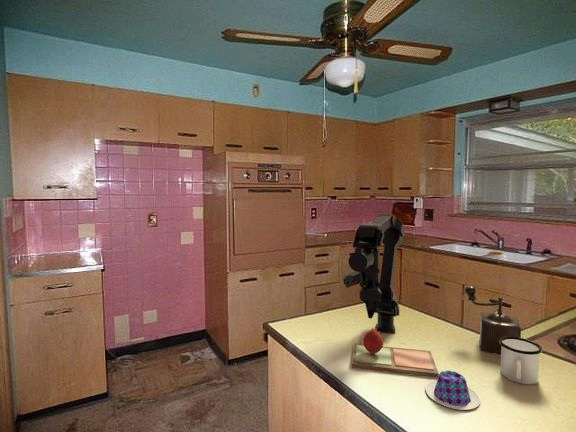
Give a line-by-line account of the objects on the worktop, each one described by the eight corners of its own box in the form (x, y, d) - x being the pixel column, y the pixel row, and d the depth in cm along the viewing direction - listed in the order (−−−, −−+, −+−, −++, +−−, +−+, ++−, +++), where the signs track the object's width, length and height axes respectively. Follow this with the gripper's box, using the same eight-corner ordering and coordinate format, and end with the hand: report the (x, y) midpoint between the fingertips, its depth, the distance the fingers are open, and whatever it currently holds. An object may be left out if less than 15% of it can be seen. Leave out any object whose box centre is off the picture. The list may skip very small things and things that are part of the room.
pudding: (465, 382, 86) (465, 363, 86) (490, 413, 74) (491, 391, 74) (418, 382, 87) (418, 363, 87) (436, 412, 75) (436, 390, 75)
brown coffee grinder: (516, 343, 107) (518, 289, 106) (521, 359, 98) (523, 299, 96) (462, 334, 115) (463, 283, 114) (462, 347, 105) (463, 292, 104)
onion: (383, 359, 95) (383, 332, 95) (363, 357, 96) (363, 331, 96) (382, 350, 101) (382, 324, 100) (363, 348, 102) (363, 323, 102)
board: (353, 347, 106) (353, 342, 106) (430, 354, 101) (430, 350, 101) (351, 367, 94) (351, 362, 94) (438, 377, 88) (438, 372, 88)
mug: (499, 363, 95) (500, 333, 95) (540, 373, 90) (541, 341, 89) (495, 383, 86) (496, 349, 85) (541, 396, 80) (543, 360, 79)
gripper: (345, 257, 115) (345, 301, 116) (342, 271, 96) (342, 322, 98) (378, 258, 112) (378, 302, 114) (381, 272, 94) (381, 325, 95)
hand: (370, 312), depth 105 cm, fingers open, 9 cm apart
